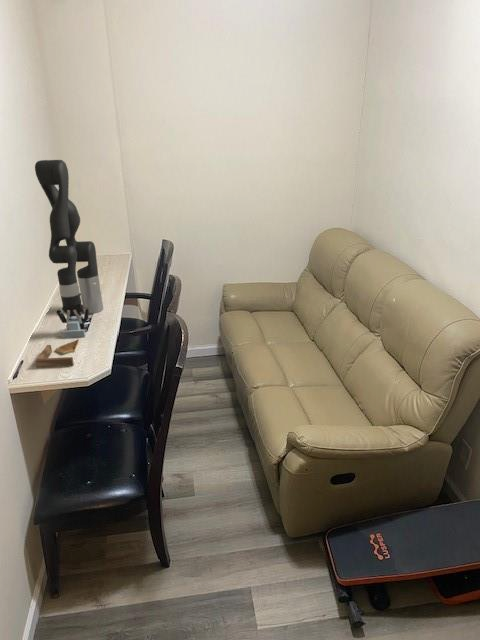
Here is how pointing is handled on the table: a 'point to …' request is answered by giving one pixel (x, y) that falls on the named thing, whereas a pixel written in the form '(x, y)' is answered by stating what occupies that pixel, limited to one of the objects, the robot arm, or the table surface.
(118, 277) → the table surface
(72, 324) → the grey inverted t block
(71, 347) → the shard
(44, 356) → the corner fence
